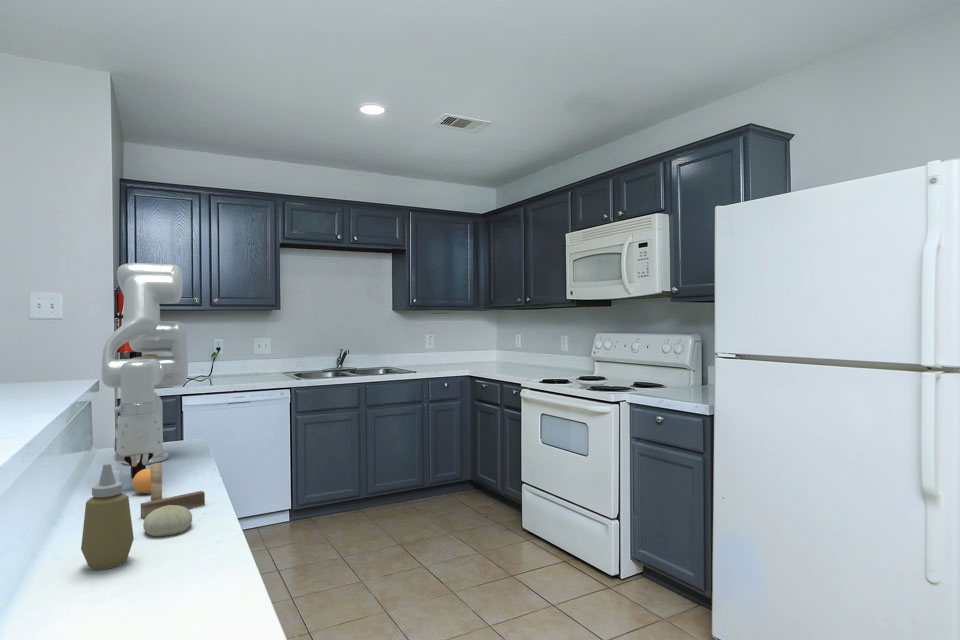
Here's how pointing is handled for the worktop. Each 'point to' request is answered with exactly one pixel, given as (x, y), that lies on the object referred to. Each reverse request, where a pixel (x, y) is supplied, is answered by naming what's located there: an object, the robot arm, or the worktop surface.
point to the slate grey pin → (116, 475)
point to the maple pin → (156, 481)
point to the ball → (142, 481)
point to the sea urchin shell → (167, 520)
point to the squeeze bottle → (107, 524)
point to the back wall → (174, 502)
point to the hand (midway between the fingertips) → (138, 480)
